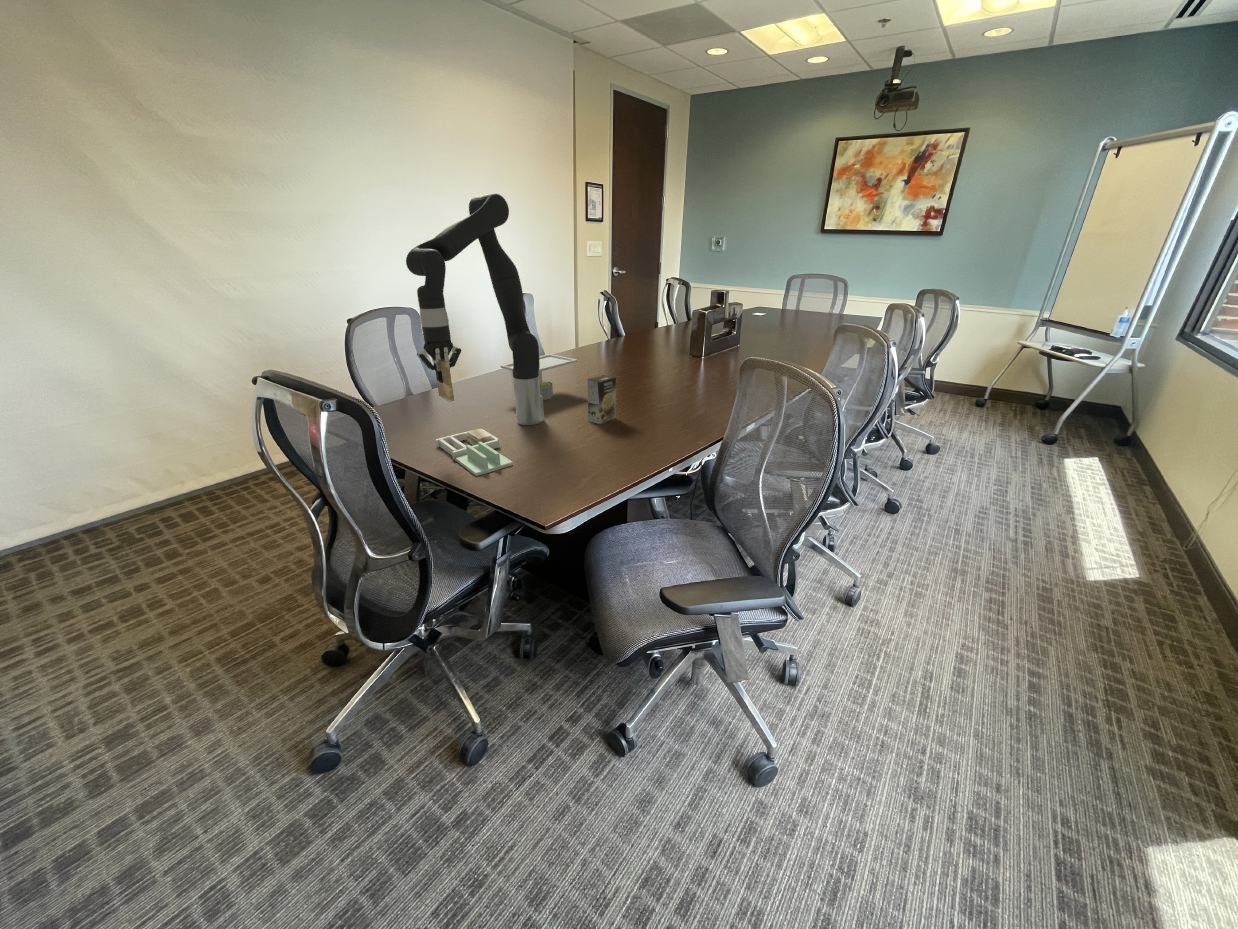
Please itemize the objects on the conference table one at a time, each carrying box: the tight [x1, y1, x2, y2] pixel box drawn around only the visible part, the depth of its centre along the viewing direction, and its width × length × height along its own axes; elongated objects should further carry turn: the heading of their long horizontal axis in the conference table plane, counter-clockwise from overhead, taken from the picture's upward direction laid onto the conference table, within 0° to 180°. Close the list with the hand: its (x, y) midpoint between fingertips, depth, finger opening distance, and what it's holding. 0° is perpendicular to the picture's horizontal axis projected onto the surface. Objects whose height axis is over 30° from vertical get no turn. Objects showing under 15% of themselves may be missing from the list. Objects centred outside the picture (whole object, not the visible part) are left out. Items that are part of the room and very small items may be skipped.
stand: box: [455, 442, 514, 477], centre depth 152 cm, size 12×14×4 cm
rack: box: [435, 428, 500, 461], centre depth 164 cm, size 16×14×2 cm
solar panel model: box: [500, 353, 578, 401], centre depth 211 cm, size 28×17×15 cm, turn 141°
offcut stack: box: [466, 428, 492, 446], centre depth 166 cm, size 5×9×4 cm, turn 40°
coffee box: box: [587, 374, 617, 425], centre depth 185 cm, size 9×6×16 cm
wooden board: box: [436, 359, 455, 403], centre depth 151 cm, size 2×8×12 cm, turn 41°
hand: (444, 381), depth 152 cm, fingers closed on wooden board, 1 cm apart
